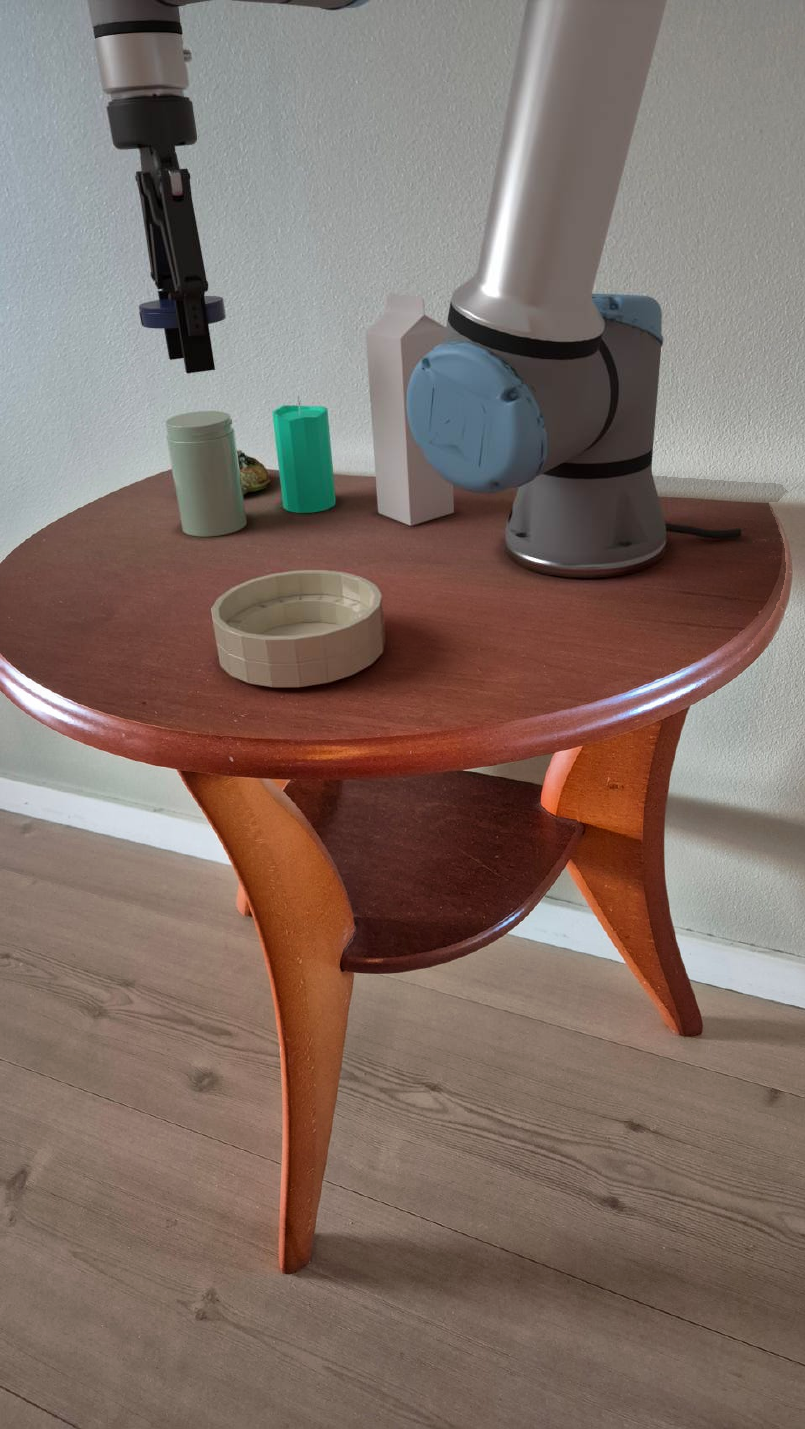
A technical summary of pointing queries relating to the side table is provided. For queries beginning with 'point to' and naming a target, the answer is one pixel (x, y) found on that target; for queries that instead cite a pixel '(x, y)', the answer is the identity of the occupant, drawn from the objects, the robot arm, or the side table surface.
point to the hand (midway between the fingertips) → (191, 364)
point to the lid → (165, 316)
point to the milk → (402, 413)
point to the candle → (304, 458)
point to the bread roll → (252, 473)
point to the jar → (206, 473)
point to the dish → (299, 628)
